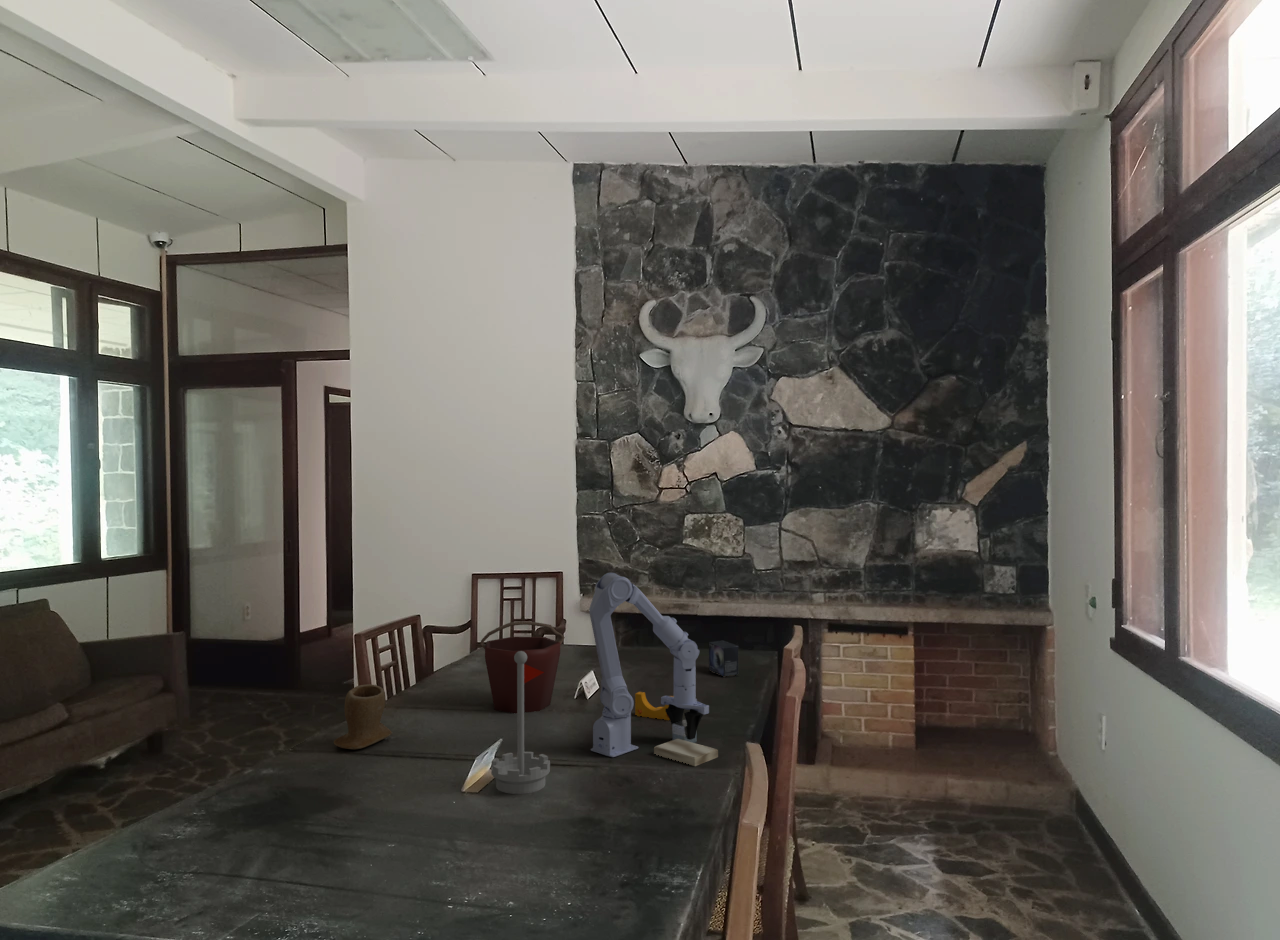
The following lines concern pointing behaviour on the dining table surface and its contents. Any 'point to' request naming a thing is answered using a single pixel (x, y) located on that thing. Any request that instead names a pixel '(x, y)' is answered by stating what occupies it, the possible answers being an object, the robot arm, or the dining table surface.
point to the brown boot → (363, 717)
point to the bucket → (539, 656)
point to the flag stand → (521, 747)
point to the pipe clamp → (649, 708)
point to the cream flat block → (686, 752)
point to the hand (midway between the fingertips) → (684, 736)
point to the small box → (723, 658)
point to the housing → (681, 731)
